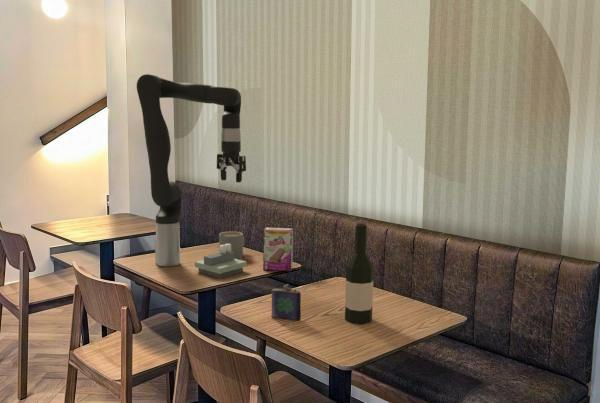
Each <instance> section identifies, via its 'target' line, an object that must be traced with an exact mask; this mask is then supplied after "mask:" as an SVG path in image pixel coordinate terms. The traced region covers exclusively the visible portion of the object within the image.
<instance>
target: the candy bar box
mask: <svg viewBox="0 0 600 403" xmlns="http://www.w3.org/2000/svg"><path fill="white" fill-rule="evenodd" d="M293 242H294V228H290V227H287V228H284V227H267V226H266V227H265V228H263V256H262V257H263V265H262V270H263V271H275V272H277V271H278V272H291V271H292V270H293V256H294V255H293V252H294V251H293V250H294V249H293V247H294V246H293V245H294V243H293Z"/></svg>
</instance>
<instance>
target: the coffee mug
mask: <svg viewBox="0 0 600 403" xmlns="http://www.w3.org/2000/svg"><path fill="white" fill-rule="evenodd" d="M218 237H219V238H218V239H219V240H218V241H219V245H218V246H219V252H218V253H220V245H225V244H231V252H234V259H238V260H242V258H244V247H245V237H244V234H243V232H240V231H232V230H231V231H222V232H220V233H219V234H218Z"/></svg>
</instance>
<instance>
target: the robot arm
mask: <svg viewBox="0 0 600 403" xmlns="http://www.w3.org/2000/svg"><path fill="white" fill-rule="evenodd" d="M136 92H137V95H138V99H139V104H140V107H141V112H142V122H143V131H144V138H145V145H146V146H145V147H146V150H147V157H148V164H149V173H150V193H151V194H150V195H151V198H152V200H153V202H154V204H155V205H156V206H158V207H159V210H158V212H157V213H156V215H155V240H154V249H155V250H154V251H155V252H154V254H155V264H156V265H157V266H159V267H176V266H178V265H180V264H181V253H180V252H181V247H180V246H181V241H180V240H181V237H180V218H181V213H182V190H181V188H180V185H178V183H176V182H174V181H170V180H169V172H168V168H169V161H170V157H171V150H172V146H171V138H170V132H169V129H168V125H167V123H166V120H165V118H164V115H163V112H162V108H161V100H160V99H167V98H169V99H179V100H184V101H189V102H194V103H199V104H200V103H201V104H202V103H203V104H209V105H210V104H214V105H219V106H222V107H223V113H222V115H221V132H220V133H221V134H220V135H221V136H220V137H221V138H220V140H221V142H220V147H221V149H220V150H221V152H222V153H217V155H216V169H217V170H219V171H220V181H227V170H228V168H229V167H232V168H233V169H234V170H235V172H236V173H235V182H236V183H242V180H243V172H246V171H247V161H246V160H247V158H246V155H240V152H241V149H242V148H241V147H242V143H241V142H242V141H241V140H242V139H241V138H242V136H241V120H240V119H241V118H240V116H241V108H242V95H241V92H240V91H239V90H238V89H236V88H234V87H226V86H225V87H223V86H214V85H211V84H201V83H195V82H194V83H192V82H178V81H173V80H169V79H165V78H162V77H159V76H157V75H154V74H150V73H146V74H145V73H144V74H142V75H141V76H140V77H139V78H138V79H137V81H136Z"/></svg>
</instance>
